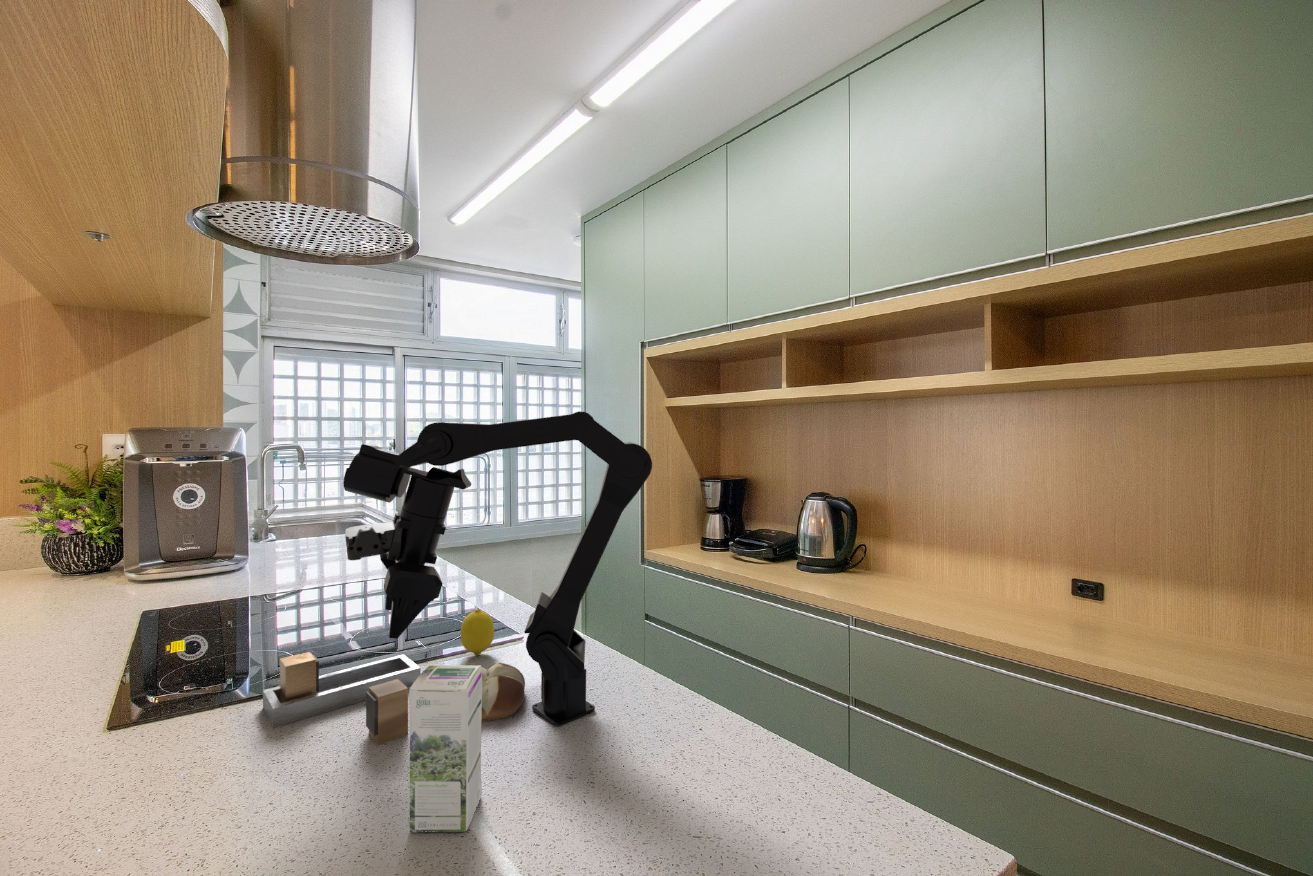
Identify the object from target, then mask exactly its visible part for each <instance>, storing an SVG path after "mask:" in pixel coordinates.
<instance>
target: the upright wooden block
mask: <svg viewBox="0 0 1313 876" xmlns="http://www.w3.org/2000/svg"><path fill="white" fill-rule="evenodd" d="M365 708H366V709H365V727H366V728H367V730H368V735H369V736H370V737H371V738H372V740H374V741H375V743H376V744H377V745H378V746H379V745H382V744H385V743H388V742H392V741H394V740H396V739H400V738H403V737H405V736H409V687H408V688H407V687H406V686H405V685H404V684H403V683H402V682H401V681H400V680H398V679H396V680H393V681H389V682H386V683H382V684H379V685H375V686H372V687H369V691H368V692H366V700H365Z"/></svg>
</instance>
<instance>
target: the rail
mask: <svg viewBox="0 0 1313 876" xmlns="http://www.w3.org/2000/svg"><path fill="white" fill-rule="evenodd" d="M319 666H320V661H319V659H318V658H317V657H316V656H315V655H314V654H312V653H311V652H310V651H307V652H303V653H298V654H294V655H290V656H285V657H281V658H279V685H278V686H274V687H270V688H267V689H263V690H262V708H263V711H264V713H265V715H266V716H267V719H268V721H269V722H270V724H271V726H272V728H276V727H281V726H283V725H287V724H290V723H293V722H298V721H301V720H304V719H307V718H310V717H314V716H317V715H321V714H324V713H328V712H331V711H334V710H337V709H341V708H344V707H345V708H346V707H347V706H351V705H354V704H357V703H361V702H366V692H368V691H369V687H372V686H375V685H379V684H382V683H386V682H389V681H393V680H396V679H398V680H400V681H401V682H402V683H403V684H404V685H405V686H406V687H407V688H408V689H409V688H410V687H411V686H412V685H413V683H414V682H415V681H416V679H417V678H418V677H419V675H420V674H421V667H420V666H419V665H418V664H417V663H415V662H414V661H413V660H411V658H409V657H408V656H406V655H405V654H403V653H402V654H399V655H395V656H390V657H387V658H383V659H380V660H379V659H378V660H376V661H375V660H374V661H372V662H369V663H364V664H360V665H357V666H353V667H349V668H345V669H341V670H337V671H332V672H329V673H325V674H322V675H320V667H319Z"/></svg>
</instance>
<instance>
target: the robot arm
mask: <svg viewBox="0 0 1313 876" xmlns="http://www.w3.org/2000/svg"><path fill="white" fill-rule="evenodd" d="M570 441H578V442H580V444H582V445H583V446H584V447H586V448H587V449H588V450H590V451H591V453H593V454H595V455H596V456H597V457H598V458H599V459H601V460H602V461H603V462H605V463H606V464H607V465H606V469H605V472H604V476H603V479H602V484H601V487H600V492H599V496H598V500H597V502H596V503H595V506H594V508H593V510H592V512H591V515H590V517H589V519H588V521H587V524H586V525H585V528H584V529H583V531H582V533H581V535H580V538H579V541H578V543H577V545H576V547H575V549H574V551H573V552H572V555H571V558H570V559H569V561H568V564H567V566H566V568H565V571H564V572H563V574H562V577H561V579H560V581H559V584H558V585H557V586H556V587H555V589H554V590H553V592H552V593H551V594H550V595H547V594H546V593H544V592H543V591H542V592H540V595H539V598H538V601H537V604H536V608H535V609H534V611H533V612H532V613H531V614H530V615H529V618H528V620H527V622H526V623H527V624H526V625H525V626H526V627H525V629H524V634H527V637H526V642H525V648H526V651H527V653H528V656H529V657H530V658H531V659H532V661H534V662H535V663H537V664H538V666H539V669H540V670H541V675H540V676H541V679H540V680H541V682H540V683H541V684H540V685H541V686H540V687H541V690H540V691H541V692H540V693H541V694H540V697H541V701H540V702H539V701H538V702H537V703H534V704H532V705H531V708H532V710H533V711H534V712H535V713H537V714H538V715H540V716H541V717H543V718H544V719H546V720H547V721H549V722H550V723H551V724H553V725H554V726H557V727H558V726H561V725H564V724H567V723H569V722H570V721H573V720H576V719H578V718H582V717H583V716H585V715H588V714H590V713H593V712H594V711H596V706H595V705H593V704H592V703H590V702H589V701H587V669H586V668H585V661H586V660H585V659H586V658H585V657H586V639H585V638H584V637H583V636H582V635H580V634H579V633H578V631H576V630H575V625H576V621H577V618H578V613H579V610H580V606H581V602H582V600H583V598H584V595H585V593H586V591H587V589H588V587H589V585H590V583H591V581H592V578H593V576H594V574H595V571H596V569H597V567H598V565H599V563H600V562H601V561H600V560H601V558H602V557H603V555H604V552H605V550H606V548H607V546H608V544H609V541H610V539H611V537H612V535H613V533H614V530H615V529H616V526H617V524H618V522H619V520H620V518H621V515H622V513H623V512H624V511H625V509H626V508H627V506H628V505H629V504H630V503H631V502H632V500H633V499H634V498H635V496H636V495H637V494H638V492H639V491H640V490H641V488H642V487H643V485H644V484H645V482H646V481H647V479H648V478H649V476H650V475H651V472H652V468H653V461H652V458H651V455H650V453H649V452H648V451H647V449H646V448H645V447H643V446H641V445H640V444H638V443H635V442H629V441H628V442H624V441H622V440H621V439H620V438H618V437H617V436H616V435H615V434H613V433H612V432H611V431H609V430H608V429H606V428H605V427H604V426H603V425H601V424H600V423H599V422H598V421H596V420H595V419H594V417H593V416H592V415H591V414H590V413H588V412H586V411H575V412H573V413H571V414H563V415H556V416H547V417H538V418H532V419H530V418H529V419H525V420H523V419H522V420H515V421H509V422H508V421H507V422H500V423H499V422H498V423H490V424H487V423H485V424H483V423H471V422H470V423H467V422H442V421H440V422H432V423H429V424H427V425H426V426H424V427H423V428H422V430H421V431H420V432H419V434H418V437H417V440H416V442H414V444H413V443H412V445H411V446H409V447H407V448H406V449H405V450H403V451H402V452H401V453H398V452H395V451H391V450H388V449H384V448H382V447H379V446H378V445H376V444H372V443H362V444H361V445H360V447H359V452H357V453H356V454H355V456H354V457H353V459H352V460H351V462H350V464H349V466H347V468H346V469H345V472H344V477H343V482H342V483H343V485H342V486H343V490H344V491H345V492H348V493H352V494H355V495H359V496H364V497H365V498H366V497H367V498H369V499H375V500H378V501H381V502H382V501H383V502H384V503H385V502H386V503H391V502H392V501H393V500H394V499H395V498H398V499H399V498H402V497H403V496H404V494H405V496H404V500H403V503H402V507H401V510H398V511H397V513H396V512H395V513H394V516H393V520H392V521H388V522H376V523H370V524H362V525H357V526H356V525H355V526H350V527H347V528H346V529H345V531H344V532H345V534H344V536H345V537H344V539H345V546H346V555H347V560H348V561H359V560H361V559H362V558H370V557H373V556H379V558H380V562H381V563H382V564H383V566H384V567H385V569H386V570H387V571H386V575H385V579H384V584H383V588H384V593H385V605H384V607H385V610H386V611H390V612H391V613H390V619H389V630H388V638H389V639H394V640H395V639H399V638H400V636H401V635H402V634H403V633H404V632H405V631H406V629H407V628H408V627H409V626H410V625H411V624H412V622H413V621H414V620H415V619H416V618H417V617H418V616H419V615H420V614H421V612H422V611H423V610H424V609H425V608H426V607H427V606H428V605H429V604H430V603H431V602H434V601H435V599H438V598H439V597H440V595H441V590H442V587H443V581H442V578H441V576H440V574H439V572H438V570H436V569H437V568H435V566H430V565H436V563H437V559H438V556H437V554H436V551H437V549H438V544H439V541H440V537H441V535H443V536H444V535H445V534H446V533H445V532H446V529H447V528H446V525H445V520H446V517H447V514H448V511H449V508H450V504H451V500H452V497H453V494H454V490H455V488H456V489H459V490H466V489H468V488H470V487H471V486H472V482H471V481H470V479H469V478H468V476H467V475H466V471H465V469H464V468H459V469H457V470H456V471H454V472H453V471H449V470H446V469H443V468H440V467H442V466H447V465H448V466H449V465H451V464H455V463H459V462H461V461H465V460H468V459H472V458H475V457H478V456H480V455H484V454H487V453H490V452H493V451H500V450H507V449H508V450H509V449H514V448H523V447H531V446H532V447H533V446H537V445H538V446H539V445H545V444H552V443H553V444H554V443H562V442H570ZM425 464H426V465H427V464H429V465H430V466H433V467H431V468H429V470H428V471H426V470H421V469H418V468H413V467H417V466H420V465H425ZM437 466H438V467H437ZM426 564H430V565H426Z"/></svg>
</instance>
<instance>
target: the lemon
mask: <svg viewBox="0 0 1313 876" xmlns="http://www.w3.org/2000/svg"><path fill="white" fill-rule="evenodd" d="M494 636H495V626H494V622H493V618H492V617H491V616H490V615H489V613H487V612H486V611H483V610H481V609H480V608H476V609H475V610H474V611H472V612H470V613H469V614H467V615H466V616H465V617H464V619H463V621H462V624H461V628H460V640H461V644H462V646H463V647H464V649H465V650H466V651H467V652H470V653H472V654H474V656H480V654H481V653H483V652H485V651H486V650H487V649H488V648H489V647H491V645H492V642H493V640H494V638H495V637H494Z"/></svg>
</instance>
